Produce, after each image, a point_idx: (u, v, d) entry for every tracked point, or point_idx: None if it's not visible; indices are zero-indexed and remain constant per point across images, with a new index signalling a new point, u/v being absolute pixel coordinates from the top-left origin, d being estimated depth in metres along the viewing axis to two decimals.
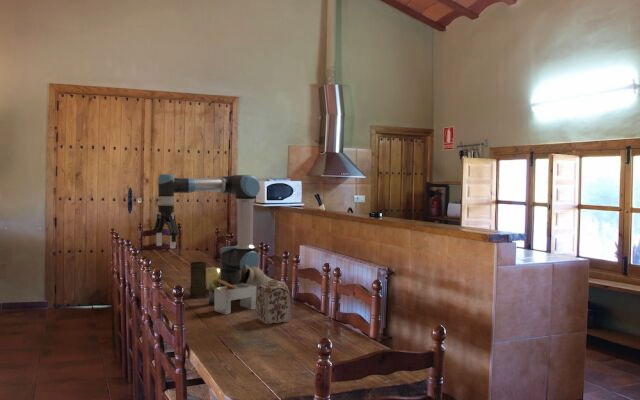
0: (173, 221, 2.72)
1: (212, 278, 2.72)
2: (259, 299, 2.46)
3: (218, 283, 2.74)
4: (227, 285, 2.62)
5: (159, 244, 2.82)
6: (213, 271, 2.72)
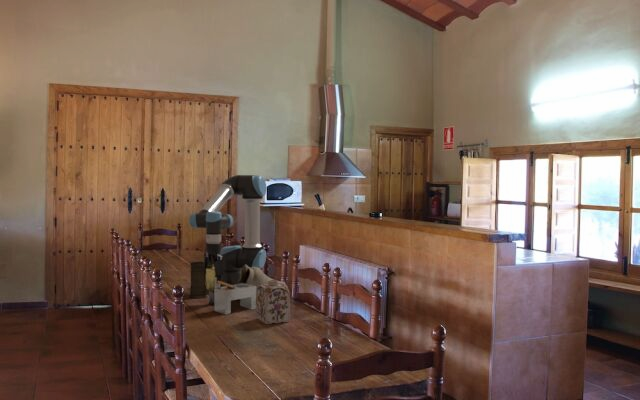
0: (220, 262, 2.70)
1: (212, 278, 2.72)
2: (259, 299, 2.46)
3: None
4: (227, 285, 2.62)
5: None
6: (213, 271, 2.72)
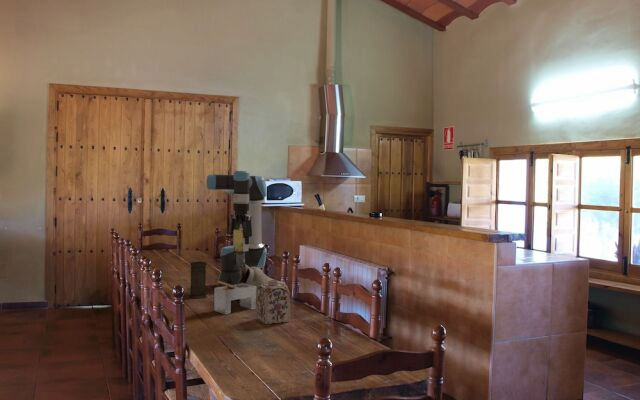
0: (249, 222, 2.62)
1: (240, 239, 2.63)
2: (259, 299, 2.46)
3: None
4: (227, 285, 2.62)
5: None
6: (241, 232, 2.63)
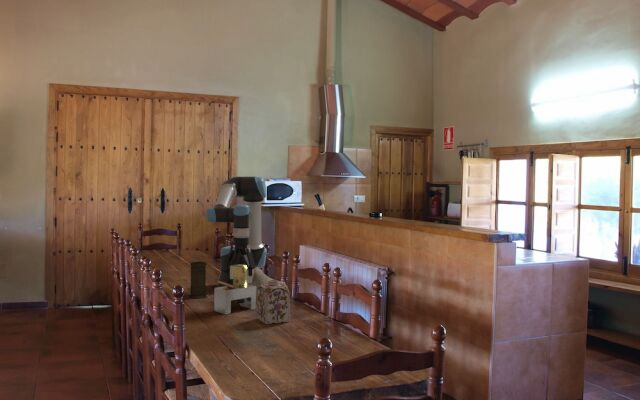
0: (250, 254, 2.62)
1: (240, 276, 2.64)
2: (259, 299, 2.46)
3: None
4: (227, 285, 2.62)
5: (232, 277, 2.72)
6: (241, 268, 2.64)
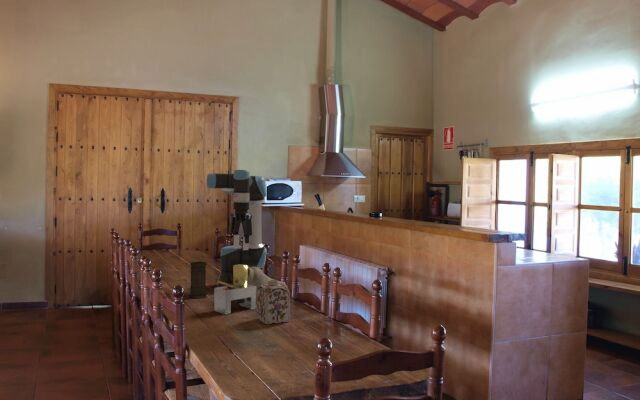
0: (249, 221, 2.62)
1: (240, 276, 2.64)
2: (259, 299, 2.46)
3: (246, 280, 2.66)
4: (227, 285, 2.62)
5: (236, 246, 2.69)
6: (241, 268, 2.64)
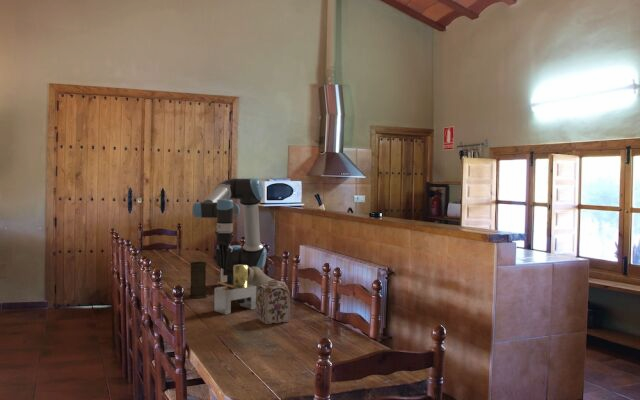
0: (230, 254, 2.56)
1: (240, 276, 2.64)
2: (259, 299, 2.46)
3: (246, 280, 2.66)
4: (227, 286, 2.62)
5: None
6: (241, 268, 2.64)
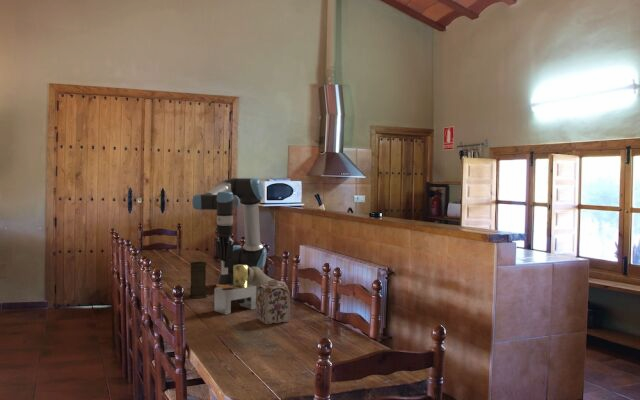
0: (231, 247, 2.57)
1: (240, 276, 2.64)
2: (259, 299, 2.46)
3: (246, 280, 2.66)
4: None
5: None
6: (241, 268, 2.64)
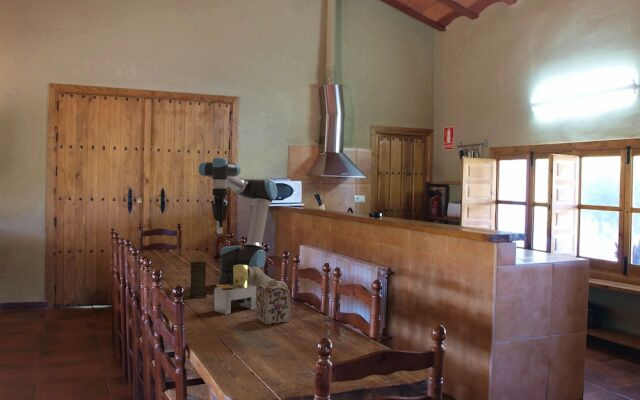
0: (225, 208, 2.82)
1: (240, 276, 2.64)
2: (259, 299, 2.46)
3: (246, 280, 2.66)
4: None
5: None
6: (241, 268, 2.64)
